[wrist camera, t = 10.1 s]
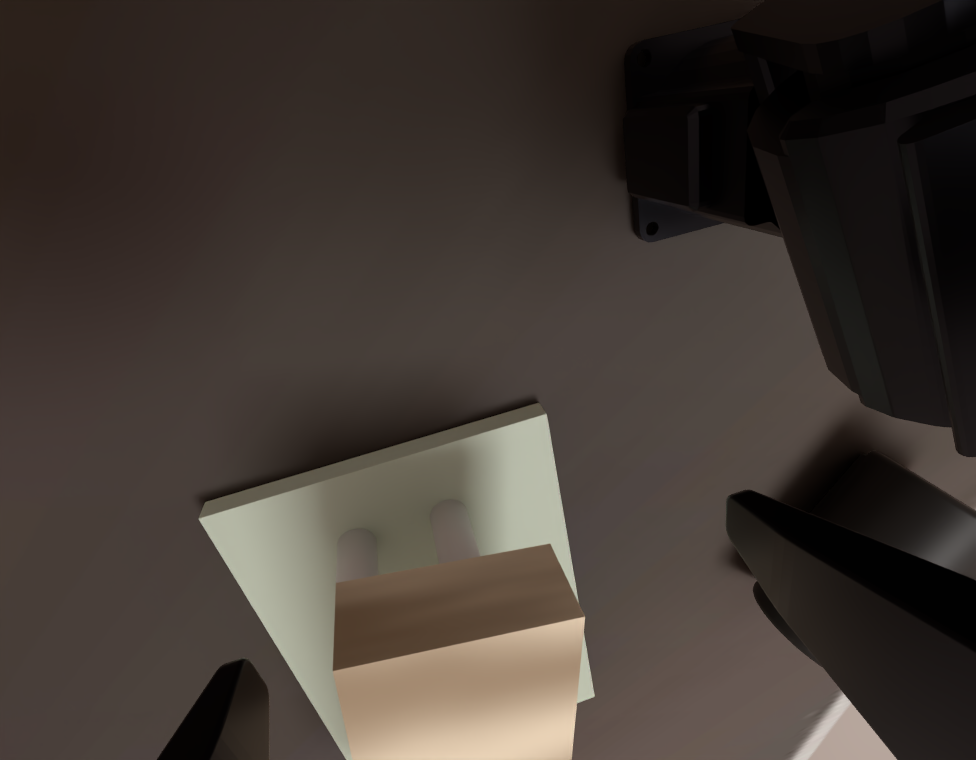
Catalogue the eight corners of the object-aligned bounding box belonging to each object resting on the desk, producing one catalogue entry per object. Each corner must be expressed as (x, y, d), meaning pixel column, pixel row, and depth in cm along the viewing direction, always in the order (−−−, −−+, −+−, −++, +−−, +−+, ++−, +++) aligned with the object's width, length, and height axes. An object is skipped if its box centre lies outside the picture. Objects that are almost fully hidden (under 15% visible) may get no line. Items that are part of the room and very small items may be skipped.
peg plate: (205, 502, 21) (154, 630, 15) (538, 402, 22) (596, 487, 17) (360, 764, 30) (362, 899, 25) (587, 680, 32) (634, 791, 26)
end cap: (839, 428, 27) (974, 511, 21) (909, 468, 30) (1046, 552, 24) (722, 567, 30) (813, 675, 24) (797, 592, 33) (895, 695, 27)
